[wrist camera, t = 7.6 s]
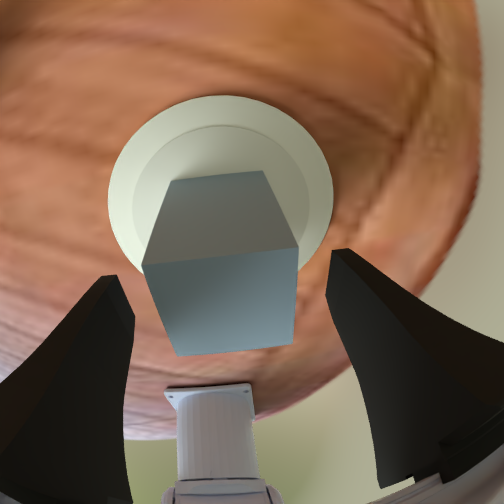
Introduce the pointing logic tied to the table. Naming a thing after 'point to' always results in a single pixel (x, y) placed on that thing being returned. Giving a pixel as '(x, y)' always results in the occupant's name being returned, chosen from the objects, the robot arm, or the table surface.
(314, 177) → the dish
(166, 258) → the block
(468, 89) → the table surface
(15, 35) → the table surface
